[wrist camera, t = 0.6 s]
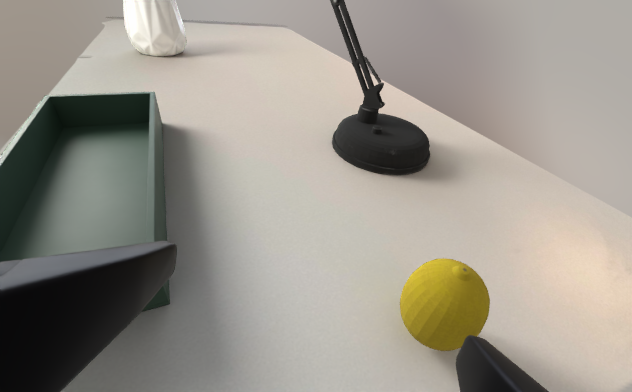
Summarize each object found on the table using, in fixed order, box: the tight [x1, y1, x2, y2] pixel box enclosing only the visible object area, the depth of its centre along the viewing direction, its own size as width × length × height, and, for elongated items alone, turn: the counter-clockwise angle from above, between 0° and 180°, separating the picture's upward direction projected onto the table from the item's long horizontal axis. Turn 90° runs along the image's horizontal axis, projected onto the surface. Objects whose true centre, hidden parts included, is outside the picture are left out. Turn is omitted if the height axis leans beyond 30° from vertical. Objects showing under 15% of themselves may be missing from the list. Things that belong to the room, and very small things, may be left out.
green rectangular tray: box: [0, 92, 170, 312], centre depth 31 cm, size 34×13×5 cm, turn 23°
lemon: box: [400, 259, 490, 351], centre depth 21 cm, size 6×6×8 cm
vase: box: [123, 0, 187, 56], centre depth 75 cm, size 14×14×15 cm
